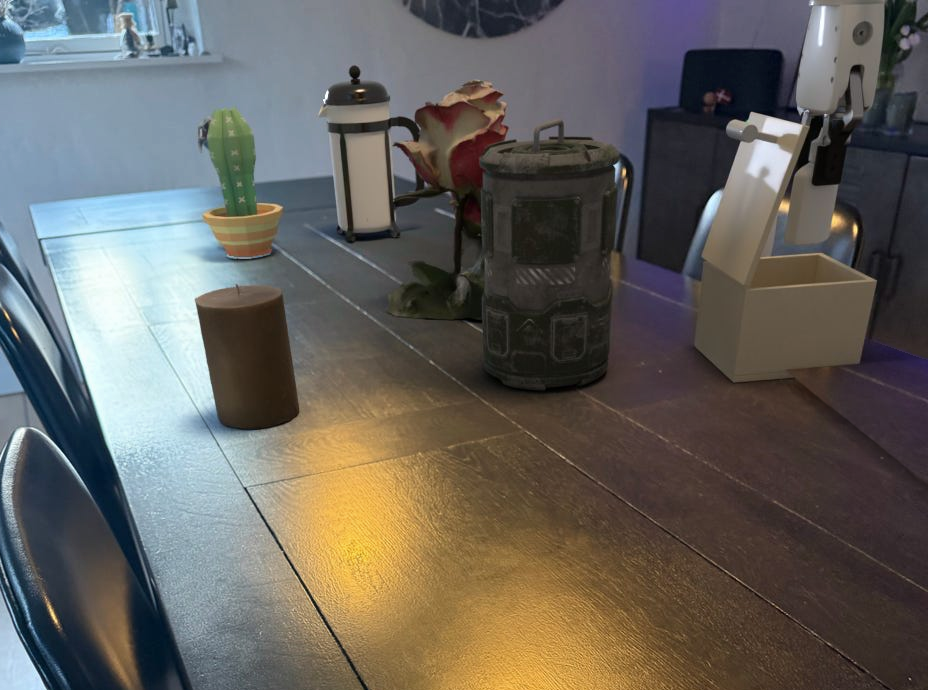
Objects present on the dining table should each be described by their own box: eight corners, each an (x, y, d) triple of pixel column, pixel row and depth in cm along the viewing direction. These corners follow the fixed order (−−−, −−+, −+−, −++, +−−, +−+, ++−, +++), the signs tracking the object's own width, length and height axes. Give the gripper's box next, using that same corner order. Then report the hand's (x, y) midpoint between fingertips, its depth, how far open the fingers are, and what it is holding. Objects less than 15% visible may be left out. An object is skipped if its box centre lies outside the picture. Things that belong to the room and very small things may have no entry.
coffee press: (380, 246, 183) (366, 68, 166) (317, 239, 190) (298, 68, 173) (429, 229, 194) (420, 61, 177) (368, 223, 202) (354, 61, 185)
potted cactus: (261, 242, 191) (240, 102, 176) (304, 252, 181) (286, 105, 167) (194, 256, 182) (167, 111, 168) (236, 267, 173) (211, 114, 159)
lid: (756, 113, 109) (718, 103, 108) (810, 126, 97) (767, 115, 96) (706, 258, 118) (670, 250, 116) (749, 286, 106) (709, 278, 104)
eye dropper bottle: (777, 238, 112) (794, 126, 106) (823, 236, 112) (843, 124, 105) (787, 246, 109) (805, 130, 102) (835, 244, 109) (857, 128, 102)
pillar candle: (301, 425, 107) (282, 290, 98) (215, 433, 106) (188, 298, 97) (298, 396, 115) (280, 269, 106) (218, 404, 113) (194, 276, 105)
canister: (512, 346, 127) (511, 113, 111) (624, 358, 121) (640, 113, 105) (463, 384, 115) (453, 130, 99) (584, 399, 109) (595, 131, 93)
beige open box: (806, 337, 125) (821, 252, 119) (857, 372, 113) (877, 280, 107) (694, 346, 124) (703, 261, 118) (733, 382, 112) (745, 290, 106)
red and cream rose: (560, 327, 133) (566, 85, 116) (374, 317, 142) (354, 90, 125) (596, 282, 153) (605, 69, 136) (430, 276, 162) (419, 75, 145)
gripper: (926, -16, 90) (883, 191, 100) (846, -13, 103) (816, 169, 114) (851, -12, 89) (816, 196, 100) (781, -10, 103) (757, 172, 113)
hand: (816, 179), depth 107 cm, fingers closed on eye dropper bottle, 4 cm apart
